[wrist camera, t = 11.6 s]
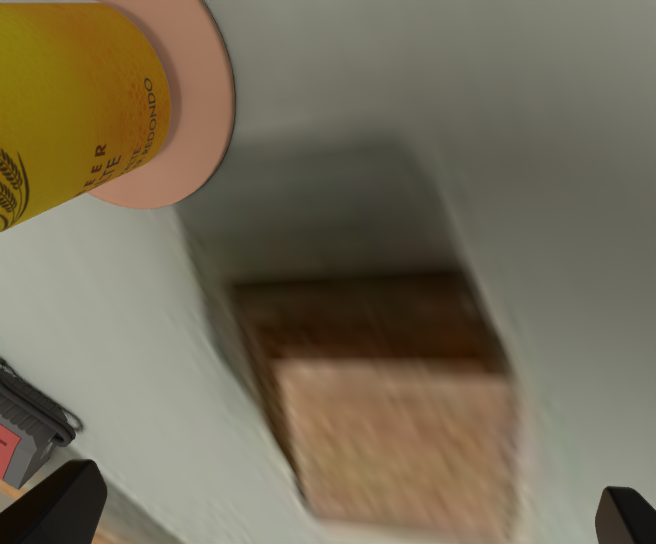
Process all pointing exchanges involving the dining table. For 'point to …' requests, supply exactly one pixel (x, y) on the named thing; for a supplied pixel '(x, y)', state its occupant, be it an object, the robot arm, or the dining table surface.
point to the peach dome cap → (180, 103)
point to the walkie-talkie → (27, 430)
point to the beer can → (73, 102)
